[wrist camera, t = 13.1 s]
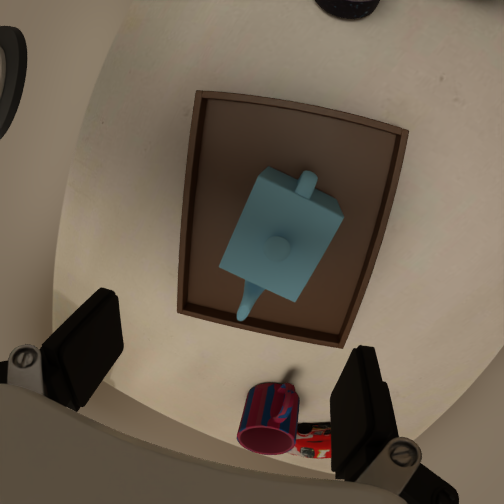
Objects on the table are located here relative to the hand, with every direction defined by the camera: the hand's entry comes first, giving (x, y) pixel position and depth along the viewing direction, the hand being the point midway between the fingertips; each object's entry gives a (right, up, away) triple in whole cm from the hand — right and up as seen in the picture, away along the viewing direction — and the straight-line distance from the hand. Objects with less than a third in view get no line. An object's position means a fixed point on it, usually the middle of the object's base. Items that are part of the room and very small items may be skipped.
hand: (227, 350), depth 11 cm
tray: (+4, +6, +16) cm, 17 cm away
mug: (+4, -14, +24) cm, 28 cm away
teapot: (+3, +6, +16) cm, 17 cm away
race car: (+12, -22, +26) cm, 36 cm away
